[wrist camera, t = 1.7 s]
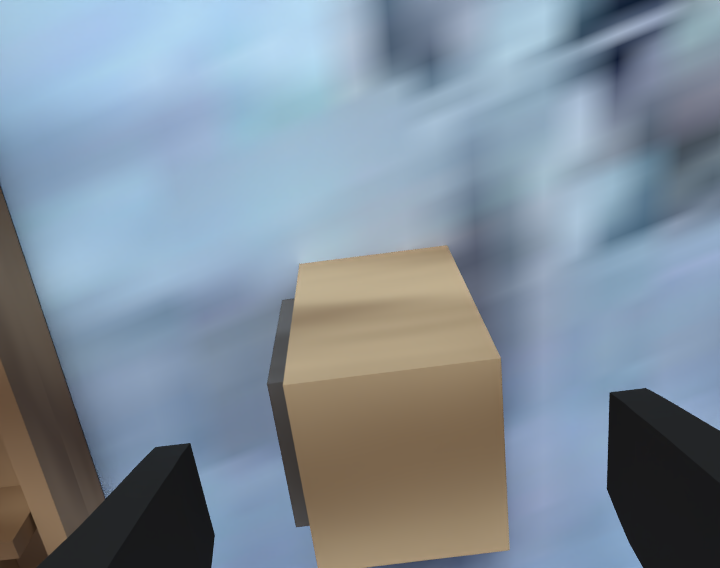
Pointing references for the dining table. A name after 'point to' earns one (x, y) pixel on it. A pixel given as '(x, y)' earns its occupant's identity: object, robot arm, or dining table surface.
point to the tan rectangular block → (390, 411)
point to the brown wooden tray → (35, 425)
